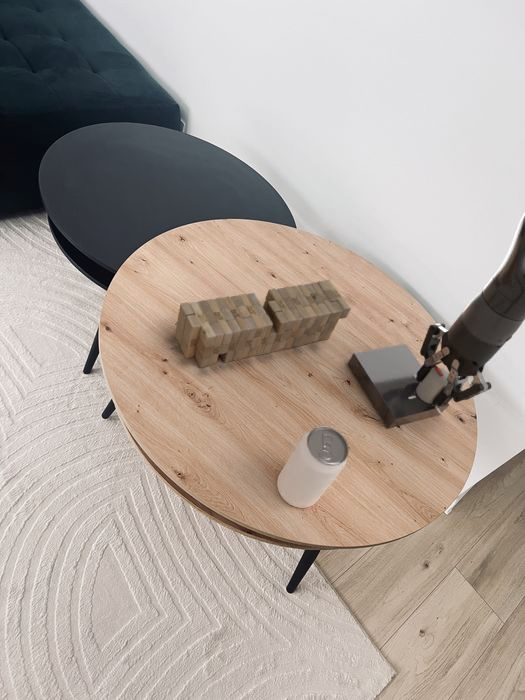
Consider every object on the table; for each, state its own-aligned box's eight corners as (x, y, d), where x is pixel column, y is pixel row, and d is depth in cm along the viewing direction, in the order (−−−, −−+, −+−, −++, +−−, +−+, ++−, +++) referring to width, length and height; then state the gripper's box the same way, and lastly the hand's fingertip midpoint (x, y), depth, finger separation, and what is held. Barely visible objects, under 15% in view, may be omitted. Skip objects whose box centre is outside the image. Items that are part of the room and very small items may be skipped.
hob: (448, 418, 93) (458, 408, 91) (391, 434, 87) (399, 424, 85) (402, 353, 101) (410, 342, 99) (347, 363, 95) (354, 352, 93)
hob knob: (442, 401, 91) (458, 382, 87) (424, 405, 89) (440, 387, 86) (428, 382, 93) (444, 364, 89) (411, 386, 91) (427, 367, 88)
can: (273, 502, 74) (301, 459, 65) (279, 462, 78) (306, 417, 69) (317, 514, 74) (350, 474, 66) (321, 474, 79) (353, 431, 70)
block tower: (190, 373, 85) (336, 338, 98) (198, 340, 79) (353, 307, 92) (173, 337, 89) (316, 308, 102) (179, 302, 83) (331, 276, 96)
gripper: (440, 292, 81) (390, 362, 93) (499, 365, 73) (436, 431, 85) (474, 288, 84) (422, 356, 96) (534, 357, 76) (469, 421, 89)
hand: (429, 391), depth 91 cm, fingers open, 4 cm apart
